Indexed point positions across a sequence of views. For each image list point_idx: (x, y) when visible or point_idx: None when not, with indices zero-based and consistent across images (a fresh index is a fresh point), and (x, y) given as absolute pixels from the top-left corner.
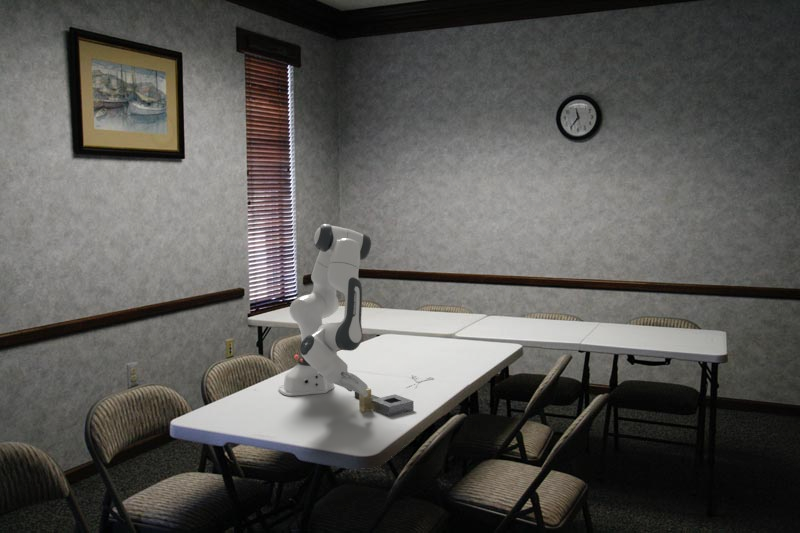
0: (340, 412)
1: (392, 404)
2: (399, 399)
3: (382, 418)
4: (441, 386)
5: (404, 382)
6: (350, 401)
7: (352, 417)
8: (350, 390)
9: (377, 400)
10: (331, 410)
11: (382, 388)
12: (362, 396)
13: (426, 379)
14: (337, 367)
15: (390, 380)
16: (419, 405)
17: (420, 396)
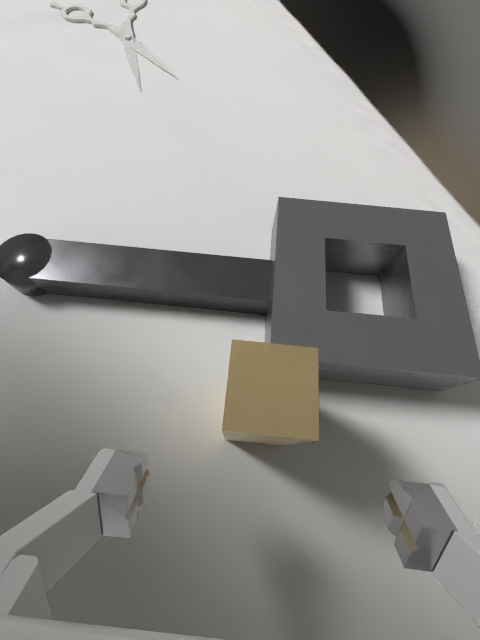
0: (164, 584)
1: (446, 329)
2: (377, 240)
3: (450, 445)
4: (228, 27)
5: (82, 55)
6: (52, 360)
7: (319, 596)
8: (143, 497)
9: (310, 337)
10: (71, 609)
11: (55, 135)
12: (277, 439)
13: (131, 8)
14: None
15: (12, 63)
16: (367, 189)
17: (268, 120)
